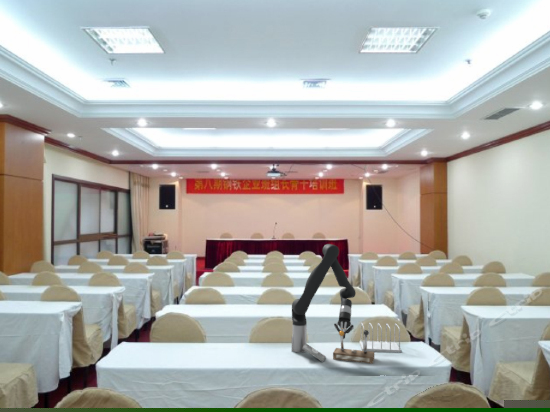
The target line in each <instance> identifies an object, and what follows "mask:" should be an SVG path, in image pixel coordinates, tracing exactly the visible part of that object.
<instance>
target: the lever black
mask: <svg viewBox="0 0 550 412" xmlns="http://www.w3.org/2000/svg"><path fill="white" fill-rule="evenodd" d="M368 336H369V329H364V341H365V342H364V353H367V341H368Z"/></svg>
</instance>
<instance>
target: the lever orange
mask: <svg viewBox="0 0 550 412" xmlns="http://www.w3.org/2000/svg"><path fill="white" fill-rule="evenodd" d="M343 331H344V330H343ZM343 331H340V332H338V335H339V336H340V348H341V351H344V349H345V346H344V339H343V335H344V332H343Z"/></svg>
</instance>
